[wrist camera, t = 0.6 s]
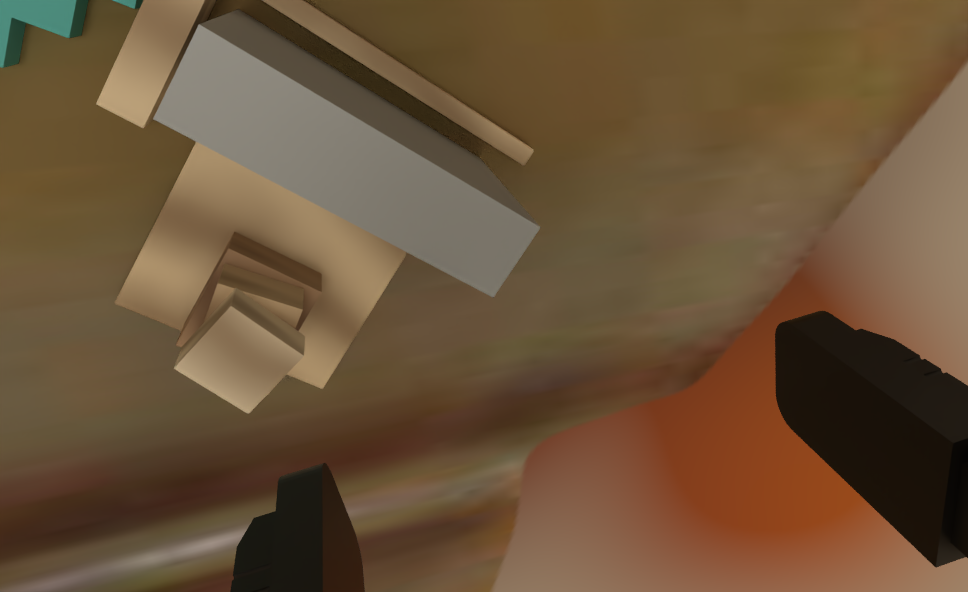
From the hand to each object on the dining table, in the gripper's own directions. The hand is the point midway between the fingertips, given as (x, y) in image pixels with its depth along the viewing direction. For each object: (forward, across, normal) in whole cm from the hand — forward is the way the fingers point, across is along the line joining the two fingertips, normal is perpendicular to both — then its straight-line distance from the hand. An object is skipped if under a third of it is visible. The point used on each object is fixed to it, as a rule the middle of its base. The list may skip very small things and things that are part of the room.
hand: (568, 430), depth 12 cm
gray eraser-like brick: (+28, -2, +1) cm, 28 cm away
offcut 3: (+22, -10, -7) cm, 25 cm away
